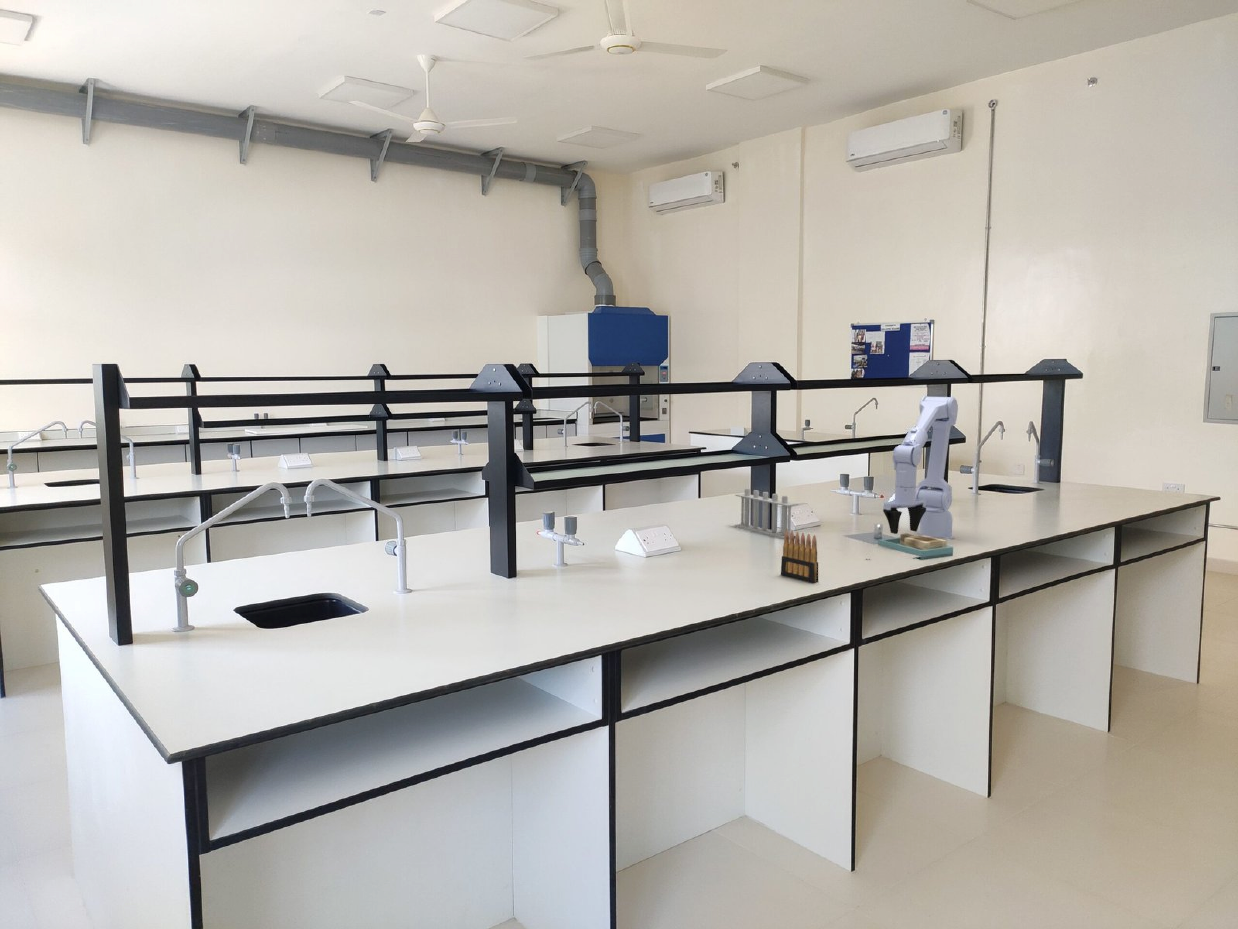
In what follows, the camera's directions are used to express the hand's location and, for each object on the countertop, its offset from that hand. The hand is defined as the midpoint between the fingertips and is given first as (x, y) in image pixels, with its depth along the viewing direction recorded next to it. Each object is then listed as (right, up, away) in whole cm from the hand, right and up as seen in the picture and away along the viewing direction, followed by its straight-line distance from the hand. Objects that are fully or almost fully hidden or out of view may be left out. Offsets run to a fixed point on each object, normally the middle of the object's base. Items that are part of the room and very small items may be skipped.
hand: (903, 532), depth 248 cm
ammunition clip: (-38, -9, -33) cm, 51 cm away
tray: (+2, -5, -3) cm, 7 cm away
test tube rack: (-37, -2, +25) cm, 44 cm away
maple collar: (+3, -5, -4) cm, 7 cm away
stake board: (-5, -4, +11) cm, 13 cm away
